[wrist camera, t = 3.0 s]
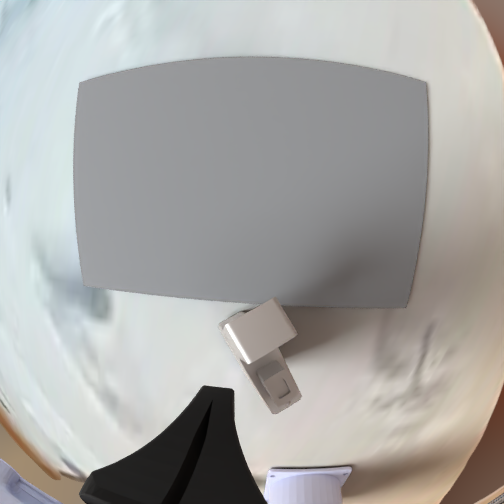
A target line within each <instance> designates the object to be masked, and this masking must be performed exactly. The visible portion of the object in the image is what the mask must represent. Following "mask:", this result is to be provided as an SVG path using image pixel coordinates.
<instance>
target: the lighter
mask: <svg viewBox="0 0 504 504" xmlns="http://www.w3.org/2000/svg"><path fill="white" fill-rule="evenodd" d="M218 328H219V330H220V332H221V333H222V335H223V337H224V339H225V341H226V342H227V344H228V346H229V348H230V349H231V351H232V353H233V355H234V356H235V358H236V360H237V361H238V363H239V365H240V367H241V368H242V370H243V372H244V373H245V375H246V377H247V378H248V379H249V381H250V382H251V384H252V385H253V387H254V388H255V390H256V391H257V393H258V394H259V396H260V397H261V398H262V400H263V401H264V403H265V404H266V406H267V407H268V408H269V410H270V411H271V413H272V414H278V413H279V412H281V411H283V410H284V409H286V408H288V407H289V406H291V405H292V404H294V403H296V402H297V401H299V400H300V399H301V397H302V395H301V393H300V391H299V389H298V387H297V385H296V383H295V381H294V379H293V377H292V375H291V373H290V371H289V369H288V367H287V364H286V362H285V360H284V358H283V356H282V354H281V352H280V350H279V348H278V347H279V346H281V345H283V344H284V343H286V342H287V341H289V340H291V339H292V338H294V337H295V336H296V335H298V333H297V331H296V330H295V328H294V326H293V325H292V323H291V321H290V320H289V318H288V316H287V315H286V313H285V311H284V309H283V308H282V306H281V304H280V303H279V301H278V299H277V298H276V297H274V298H272V299H270V300H268V301H267V302H265V303H263V304H262V305H260V306H258V307H256V308H254V309H253V310H251V311H249V312H247V313H245V312H239V313H237V314H235V315H233V316H232V317H230V318H228V319H226V320H224V321H222V322H221V323H219V326H218Z"/></svg>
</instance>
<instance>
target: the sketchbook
mask: <svg viewBox="0 0 504 504" xmlns="http://www.w3.org/2000/svg"><path fill="white" fill-rule="evenodd" d="M503 503H504V493H503V494H502V495H500V496H499V497H497V498H496V499H494V500H492V501H491V502H490V503H488V504H503Z"/></svg>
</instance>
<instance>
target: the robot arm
mask: <svg viewBox="0 0 504 504" xmlns="http://www.w3.org/2000/svg"><path fill="white" fill-rule="evenodd" d="M234 417H235V413H234V390H233V389H230V388H221V387H212V386H205V385H204V386H202V387H201V389H200V390H199V392H198V393H197V395H196V396H195V397H194V399H193V400H192V401H191V402H190V404H189V405H188V406H187V407H186V408H185V410H184V411H183V412H182V413H181V414H180V415H179V416H178V417H177V418H176V419H175V420H174V421H173V422H172V423H171V424H170V425H169V426H168V427H167V428H166V429H165V430H164V431H163V432H162V433H161V434H159V435H158V436H157V437H156V438H154V439H153V440H152V441H151V442H149V443H148V444H146V445H145V446H144V447H142V448H141V449H139V450H138V451H136V452H134V453H133V454H131V455H129V456H127V457H125V458H123V459H121V460H119V461H118V462H115V463H113V464H111V465H108V466H106V467H103V468H101V469H98V470H95V471H93V472H92V473H91V474H90V476H89V477H88V478H87V480H86V481H85V483H84V485H83V487H82V489H81V491H80V493H79V495H80V497H81V499H82V500H83V501H84V502H85V503H86V504H343V503H342V495H341V487H342V486H343V484H344V483H345V481H346V480H347V478H348V476H349V475H350V473H351V472H352V468H351V467H338V468H322V469H270V470H268V474H267V480H266V486H265V491H264V497H263V495H262V493H261V492H260V490H259V488H258V486H257V484H256V482H255V480H254V478H253V476H252V474H251V472H250V470H249V468H248V465H247V463H246V460H245V458H244V455H243V452H242V449H241V446H240V443H239V439H238V435H237V431H236V426H235V420H234ZM0 504H63V503H61V502H59V501H58V500H56V499H54V498H53V497H51V496H49V495H48V494H46V493H44V492H43V491H41V490H40V489H38V488H37V487H35V486H33V485H32V484H30V483H29V482H28V481H26V480H25V479H23V478H22V477H20V475H19V474H18V473H17V472H16V471H15V470H14V469H13V468H12V467H11V466H10V465H8V464H7V463H6V462H5V461H3V460H2V459H1V458H0Z"/></svg>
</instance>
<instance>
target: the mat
mask: <svg viewBox="0 0 504 504" xmlns="http://www.w3.org/2000/svg"><path fill="white" fill-rule="evenodd" d="M427 168H428V106H427V90H426V82H424V81H420V80H417V79H414V78H410V77H406V76H402V75H398V74H394V73H390V72H386V71H381V70H377V69H372V68H367V67H361V66H355V65H349V64H343V63H336V62H328V61H319V60H309V59H297V58H279V57H228V58H210V59H198V60H188V61H179V62H171V63H164V64H158V65H152V66H146V67H141V68H136V69H131V70H126V71H121V72H117V73H113V74H109V75H105V76H101V77H97V78H94V79H90V80H87V81H83V82H80V83H79V88H78V97H77V106H76V116H75V130H74V155H73V183H74V207H75V222H76V233H77V243H78V251H79V259H80V266H81V272H82V279H83V285H84V286H88V287H95V288H102V289H109V290H116V291H124V292H132V293H141V294H149V295H158V296H167V297H177V298H187V299H198V300H210V301H222V302H235V303H250V304H263V303H265V302H267V301H268V300H270V299H272V298H274V297H276V298H277V299H278V301H279V303H280V304H281V305H285V306H307V307H339V308H406V307H407V303H408V299H409V295H410V291H411V286H412V282H413V277H414V272H415V267H416V262H417V256H418V250H419V244H420V238H421V231H422V224H423V216H424V207H425V196H426V184H427Z"/></svg>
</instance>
